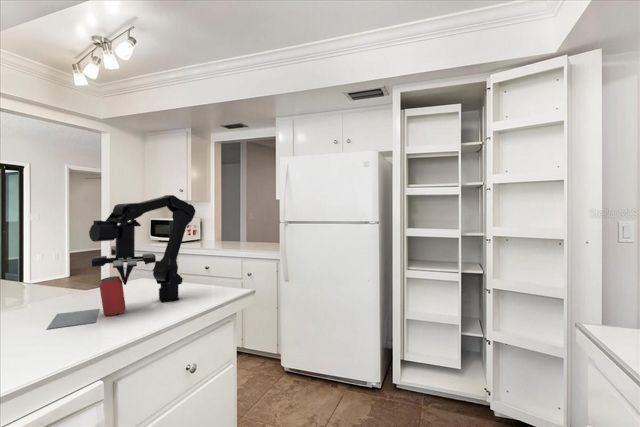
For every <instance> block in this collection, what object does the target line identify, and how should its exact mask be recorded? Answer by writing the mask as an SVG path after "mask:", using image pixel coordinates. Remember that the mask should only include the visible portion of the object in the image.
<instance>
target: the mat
mask: <svg viewBox="0 0 640 427" xmlns="http://www.w3.org/2000/svg"><path fill="white" fill-rule="evenodd" d="M100 310H101V308H93V309H85V310H77V311H70V312H61V313H56V315H55V316H54V318H52V320H51V322H50V323H49V325H48V326H47V328H46V331H47V330H53V329H62V328H69V327H74V326H75V327H76V326H82V325H83V326H84V325H89V324H96V322H97V320H98V317H99V313H100Z"/></svg>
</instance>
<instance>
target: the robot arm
mask: <svg viewBox="0 0 640 427" xmlns="http://www.w3.org/2000/svg"><path fill="white" fill-rule="evenodd" d="M166 207H167V209H168V211H170V212H171V213H172V215H171V216H172V222H173V226H172V228H171V231H170V235H169V239H168V241H167V244H166V247H165V250H164V254H163V257H162V258H161V259H160V260H156V255H155V254H154V253H142V255H140V256H139V255H138V256H135V245H136V244H135V240H136V238H135V237H136V233H135V232H136V230H135V229H136V228H135V227H141V225H142V224H141V223H140V222H138V221H137V219H138V218H140V217H142V216H144V214H146V213H148V212H152V211H155V210H159V209H163V208H166ZM195 214H196V208H195V206H194V205H193V204H191V203H188V202H186V201H184V200H183V199H180V198H178V197H177V196H175V195H173V194H167V195H163V196H160V197H157V198H152V199H149V200H144V201H141V202H129V203H118V204H116V205H114V206H113V209H112V211H111V213H110V214H109V215H108V217H107V218H106V219H105V220H93V221H92V222H93V224H92V225H91V226H90V228H89V232H88V234H89V238H90V240H91V242H94V243H95V242H96V243H97V242H98V243H99V242H110V241H111V242H112V241H115V245H111V246H110V247H111V248H110V249H111V250H110V255H111V256H113V257H108V256H107V255H102V256H101V255H100V256H98V255H97V256H94V257H93V258H92V259H91V267H93V268H94V267H103V266H105V265H107V264H112V268H113V269H116V270H117V272H118V273H119V275H120V279H121V281H122V284H123V285H124V286H126V285H127V283H128V280H129V277H130V275H131V273H132V270H133V269H134V267H137V266H138V264H137V263H138V262H144V263H145V264H154V267H153V269H152V276H153V277H154V279H155V281H156V283H157V284H156V285H160V287H158V300H160V302H161V303H164V302H166V303H167V302H172V301H179V300H180V298H179V285H182V283H183V280H184V278H183V277H182V276H181V275H180V274H179V273H178V270H179V267H178V261H177V260H178V255H179V253H180V249H181V245H182V243H183V239H184V235H185V232H186V228H187V226H188V225H190V223H192V221H193V219H194V217H195ZM114 256H115V257H114ZM124 263H126V269H125V268H124Z"/></svg>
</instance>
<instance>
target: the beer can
mask: <svg viewBox="0 0 640 427" xmlns="http://www.w3.org/2000/svg"><path fill="white" fill-rule="evenodd" d="M123 285H124V284H123V280H122V278H121V276H117V275H115V276H108V277H104V278H102V279H101V280H100V283H99V292H100V299H101V305H102V312H103V315H104V316H114V315H118V314H121V313H123V312H125V311H126V308H127V306H126V300H125V292H124V287H123Z"/></svg>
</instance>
